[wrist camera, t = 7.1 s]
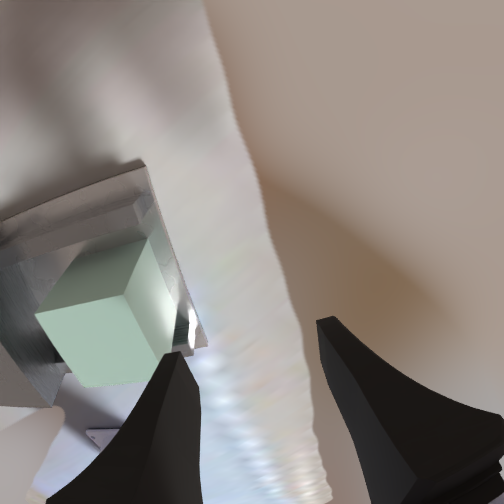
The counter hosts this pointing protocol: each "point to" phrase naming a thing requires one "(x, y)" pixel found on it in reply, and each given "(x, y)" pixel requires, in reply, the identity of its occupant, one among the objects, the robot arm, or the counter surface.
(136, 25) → the counter surface
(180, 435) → the robot arm
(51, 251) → the motor mount
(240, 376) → the counter surface
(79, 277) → the pale mint cube
